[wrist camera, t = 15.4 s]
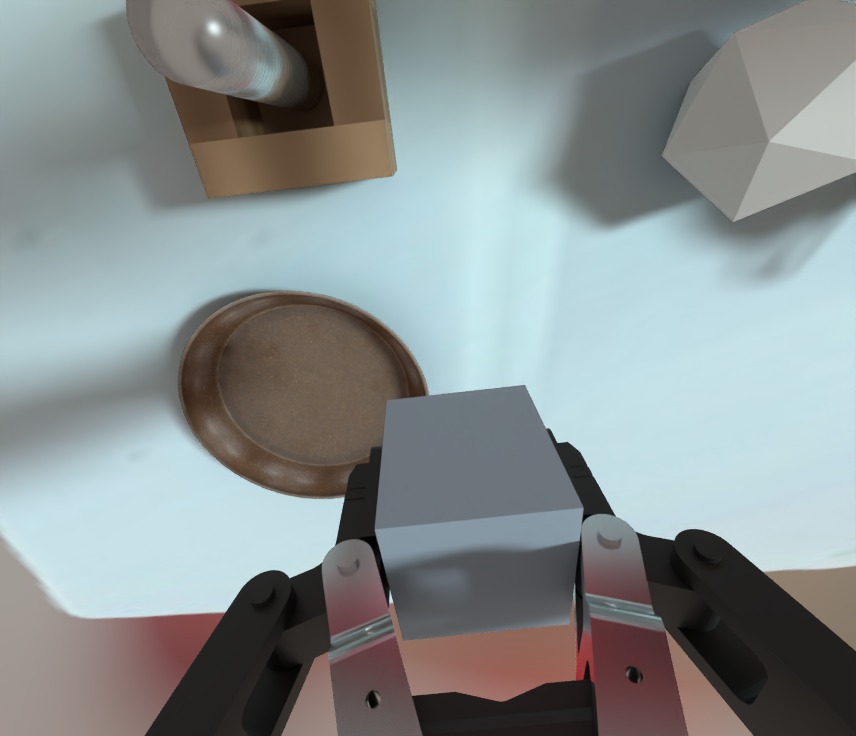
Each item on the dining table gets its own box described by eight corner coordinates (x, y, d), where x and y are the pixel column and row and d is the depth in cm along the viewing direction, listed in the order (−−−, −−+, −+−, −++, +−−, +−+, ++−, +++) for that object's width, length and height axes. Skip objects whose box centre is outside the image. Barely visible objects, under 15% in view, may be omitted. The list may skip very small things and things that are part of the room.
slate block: (524, 384, 13) (583, 507, 8) (523, 485, 15) (569, 623, 11) (387, 400, 13) (374, 529, 9) (405, 497, 15) (403, 640, 11)
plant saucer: (143, 342, 29) (115, 362, 26) (356, 231, 25) (349, 242, 23) (288, 497, 37) (278, 524, 34) (464, 429, 33) (468, 453, 31)
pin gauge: (317, 51, 20) (206, -47, 9) (328, 108, 21) (242, 79, 10) (269, 57, 20) (107, -32, 9) (283, 114, 21) (153, 91, 11)
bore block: (369, -41, 19) (355, -96, 14) (396, 170, 23) (392, 176, 19) (184, -15, 19) (116, -62, 15) (246, 188, 24) (208, 198, 19)
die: (609, 182, 24) (747, 277, 20) (664, 2, 17) (906, 84, 12) (707, 133, 26) (859, 210, 21) (798, -55, 18) (1062, 0, 14)
